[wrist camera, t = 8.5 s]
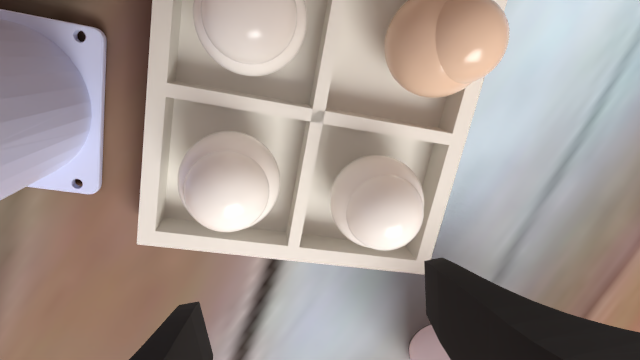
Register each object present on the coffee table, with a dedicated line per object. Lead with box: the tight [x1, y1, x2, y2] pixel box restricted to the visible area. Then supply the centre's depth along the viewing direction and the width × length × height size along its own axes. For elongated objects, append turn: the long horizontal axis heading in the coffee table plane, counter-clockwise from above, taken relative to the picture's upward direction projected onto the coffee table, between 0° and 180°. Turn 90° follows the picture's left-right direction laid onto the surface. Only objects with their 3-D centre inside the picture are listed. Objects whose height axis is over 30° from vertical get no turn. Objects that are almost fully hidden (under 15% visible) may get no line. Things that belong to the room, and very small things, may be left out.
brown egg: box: [384, 0, 509, 98], centre depth 17 cm, size 5×5×5 cm
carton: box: [137, 0, 507, 275], centre depth 19 cm, size 15×15×2 cm
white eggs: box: [177, 0, 424, 251], centre depth 17 cm, size 12×12×5 cm
